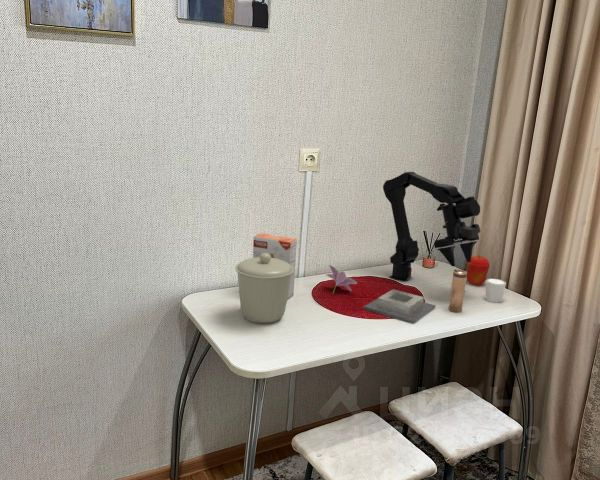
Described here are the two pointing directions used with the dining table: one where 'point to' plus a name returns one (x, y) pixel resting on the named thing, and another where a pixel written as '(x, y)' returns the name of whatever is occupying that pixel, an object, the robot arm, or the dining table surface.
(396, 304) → the frame
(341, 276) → the lily
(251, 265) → the canister
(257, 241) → the cracker box
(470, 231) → the robot arm
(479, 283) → the apple
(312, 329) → the dining table surface
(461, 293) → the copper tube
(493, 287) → the shot glass
